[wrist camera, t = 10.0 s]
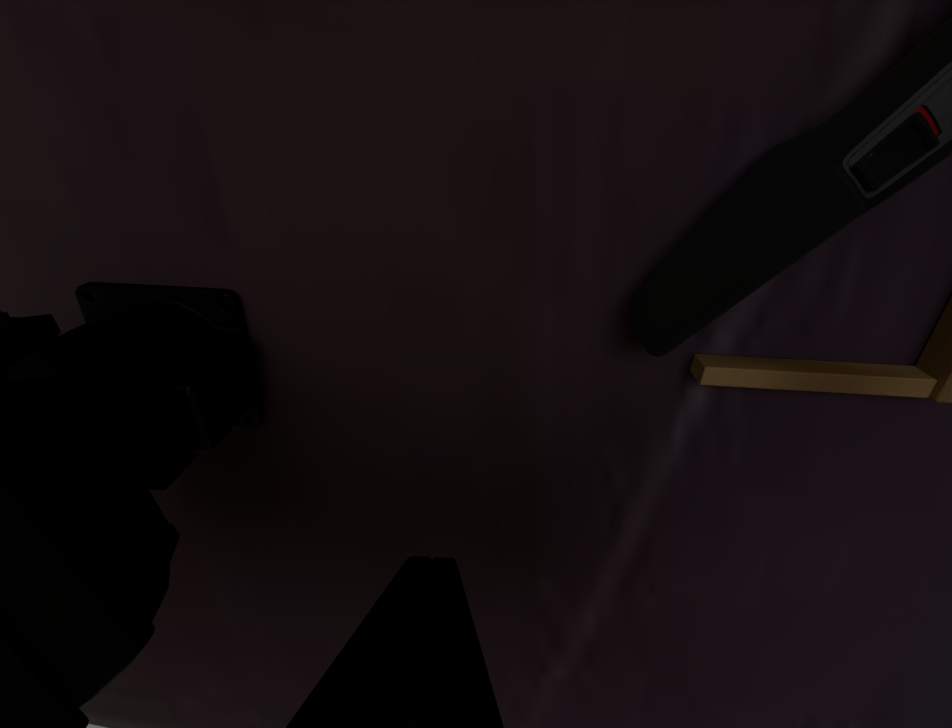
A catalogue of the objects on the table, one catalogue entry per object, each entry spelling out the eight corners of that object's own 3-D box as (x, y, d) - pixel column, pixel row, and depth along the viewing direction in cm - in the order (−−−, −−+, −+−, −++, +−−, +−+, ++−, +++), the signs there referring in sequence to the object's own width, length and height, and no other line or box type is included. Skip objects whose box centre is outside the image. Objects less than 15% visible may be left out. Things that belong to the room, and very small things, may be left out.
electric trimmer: (595, 285, 18) (610, 316, 15) (1065, -131, 12) (1230, -204, 9) (656, 347, 19) (681, 388, 16) (1117, -7, 13) (1279, -39, 10)
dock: (689, 370, 19) (702, 389, 18) (883, -350, 11) (936, -417, 9) (931, 384, 19) (963, 404, 18) (1332, -353, 10) (1453, -422, 9)
